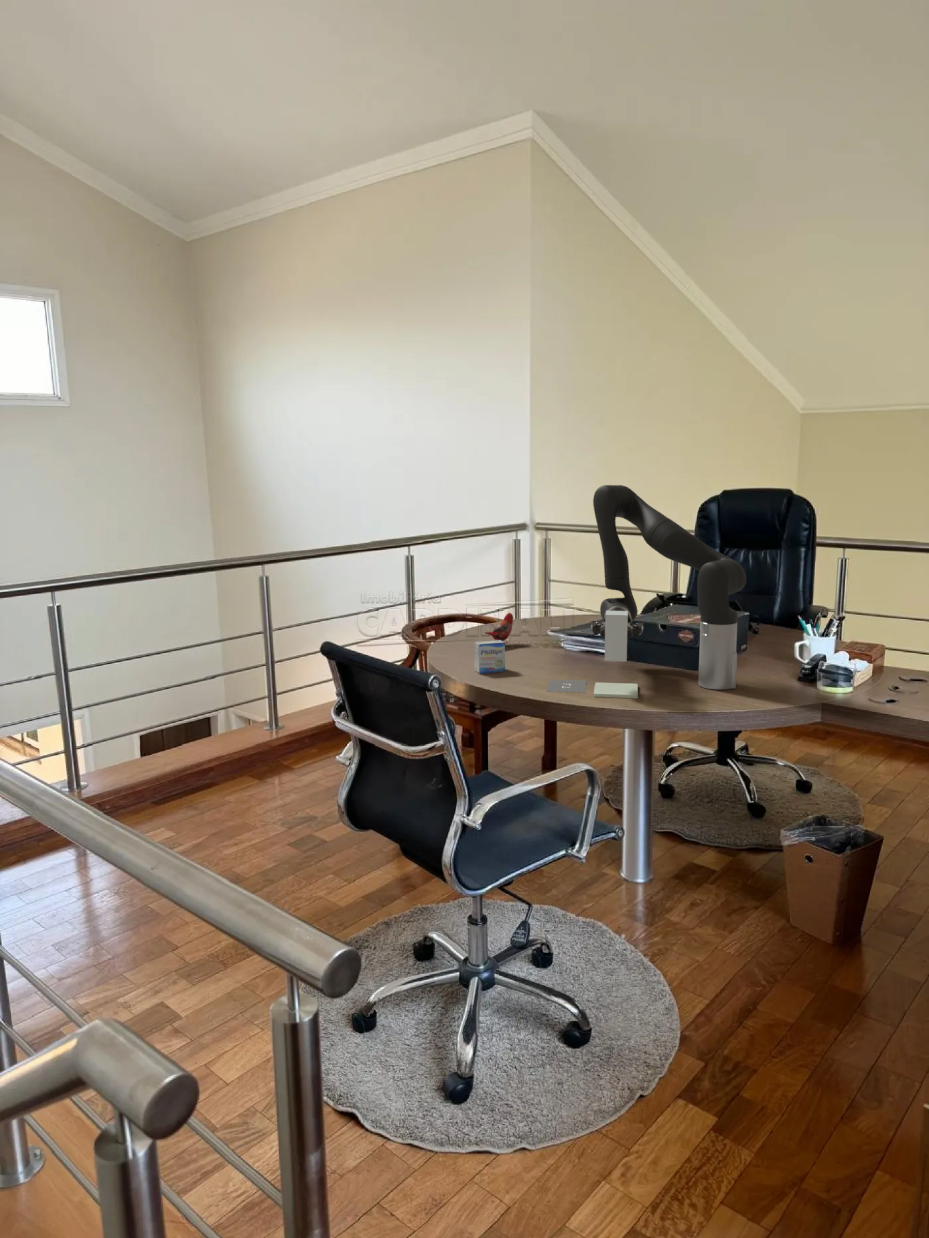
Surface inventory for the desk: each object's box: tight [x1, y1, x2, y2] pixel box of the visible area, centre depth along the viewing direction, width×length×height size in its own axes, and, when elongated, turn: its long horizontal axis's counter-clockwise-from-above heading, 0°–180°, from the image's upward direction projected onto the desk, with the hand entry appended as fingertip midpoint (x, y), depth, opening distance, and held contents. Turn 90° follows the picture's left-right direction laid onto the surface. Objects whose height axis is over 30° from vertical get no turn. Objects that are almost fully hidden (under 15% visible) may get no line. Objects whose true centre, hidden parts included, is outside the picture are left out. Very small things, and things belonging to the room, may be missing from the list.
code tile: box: [545, 679, 588, 694], centre depth 231 cm, size 10×12×1 cm
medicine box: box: [473, 639, 506, 675], centre depth 248 cm, size 8×4×9 cm, turn 106°
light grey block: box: [604, 611, 628, 662], centre depth 222 cm, size 6×6×12 cm
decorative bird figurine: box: [484, 612, 514, 645], centre depth 279 cm, size 3×18×10 cm, turn 147°
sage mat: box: [593, 682, 639, 699], centre depth 225 cm, size 11×11×1 cm
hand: (616, 634), depth 220 cm, fingers closed on light grey block, 5 cm apart
